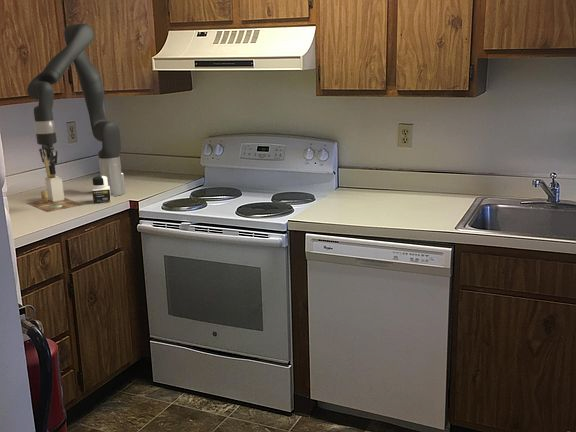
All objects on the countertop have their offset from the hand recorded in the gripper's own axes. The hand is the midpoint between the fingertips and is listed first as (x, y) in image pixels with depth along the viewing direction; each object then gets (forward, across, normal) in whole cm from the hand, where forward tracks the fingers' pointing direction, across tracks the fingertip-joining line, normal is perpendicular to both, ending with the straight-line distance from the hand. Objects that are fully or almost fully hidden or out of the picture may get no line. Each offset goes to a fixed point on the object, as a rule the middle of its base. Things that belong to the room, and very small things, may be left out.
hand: (51, 173), depth 263 cm
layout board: (+15, +6, -2) cm, 17 cm away
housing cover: (+14, +14, -6) cm, 21 cm away
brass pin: (+2, 0, 0) cm, 2 cm away
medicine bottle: (+15, -6, -18) cm, 25 cm away
